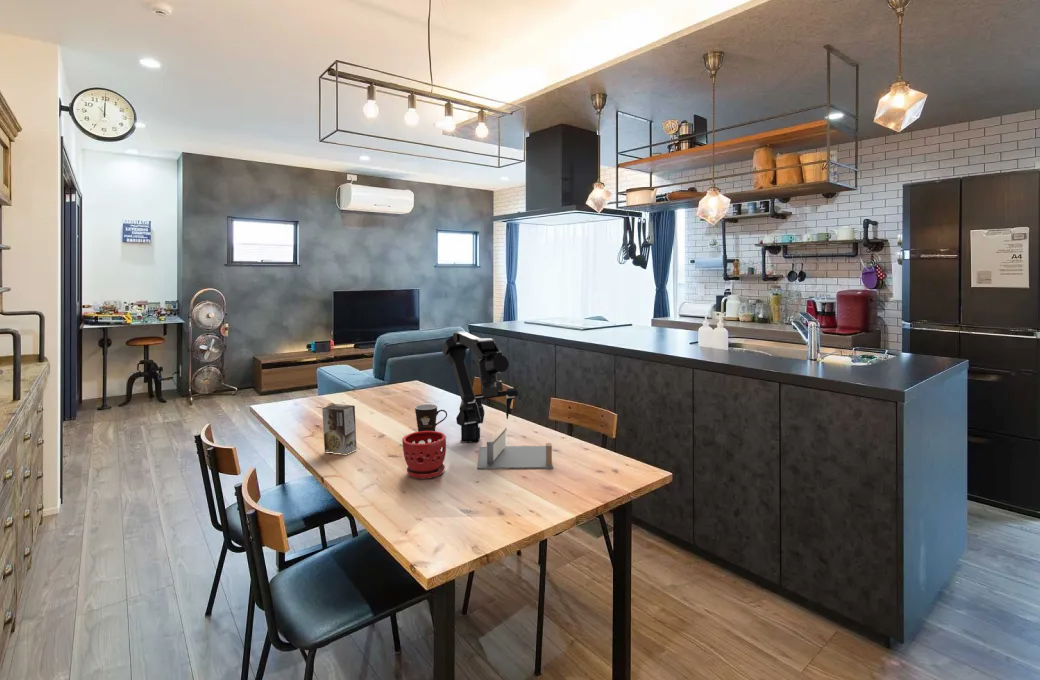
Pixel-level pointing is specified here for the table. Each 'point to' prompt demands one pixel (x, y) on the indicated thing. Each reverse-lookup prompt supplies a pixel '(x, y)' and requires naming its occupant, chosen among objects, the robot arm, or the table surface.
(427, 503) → the table surface
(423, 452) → the plant pot
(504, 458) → the gate frame
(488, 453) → the gate
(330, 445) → the coffee box
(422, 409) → the coffee mug
